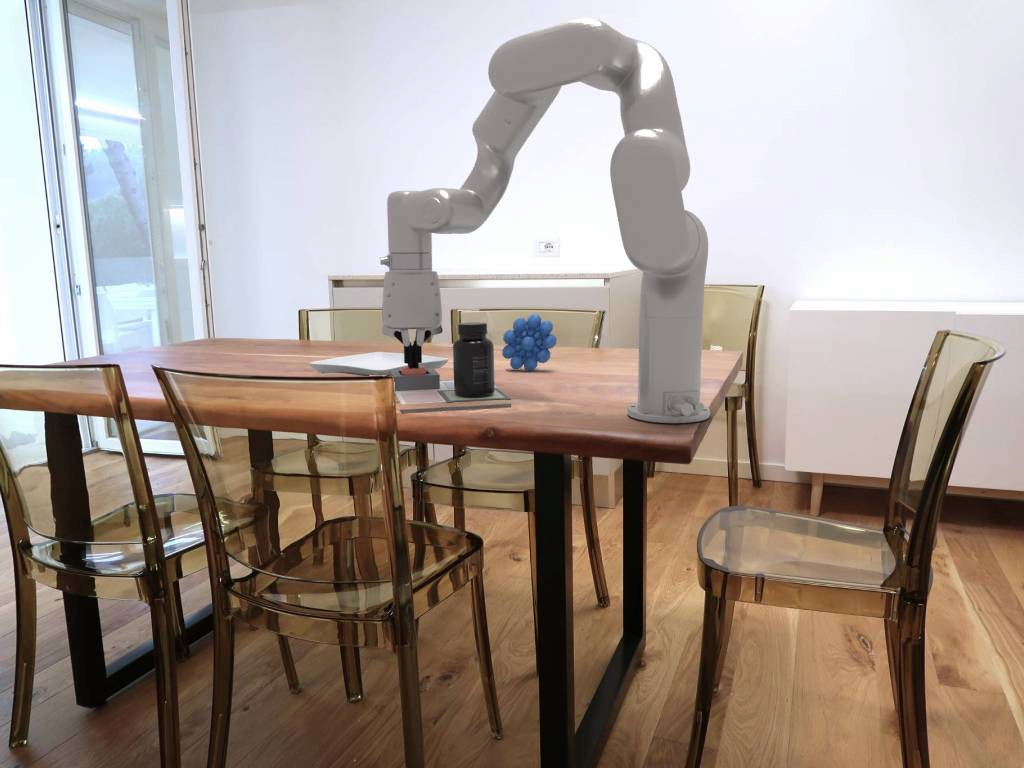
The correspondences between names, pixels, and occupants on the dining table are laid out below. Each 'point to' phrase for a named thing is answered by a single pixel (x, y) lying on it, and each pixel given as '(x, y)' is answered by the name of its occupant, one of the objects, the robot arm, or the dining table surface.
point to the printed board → (446, 398)
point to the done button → (413, 370)
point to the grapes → (528, 342)
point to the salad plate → (372, 363)
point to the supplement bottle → (473, 361)
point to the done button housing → (416, 380)
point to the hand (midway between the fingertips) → (413, 367)
